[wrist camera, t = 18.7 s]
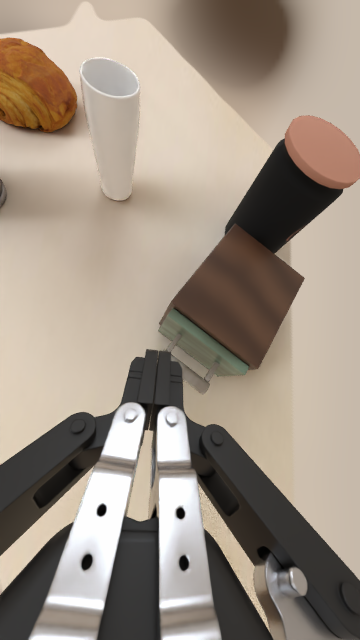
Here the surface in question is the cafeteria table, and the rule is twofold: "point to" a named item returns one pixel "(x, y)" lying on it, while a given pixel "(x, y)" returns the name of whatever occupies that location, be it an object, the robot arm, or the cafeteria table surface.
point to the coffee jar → (297, 182)
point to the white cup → (112, 122)
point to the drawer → (199, 351)
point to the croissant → (33, 88)
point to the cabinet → (239, 295)
